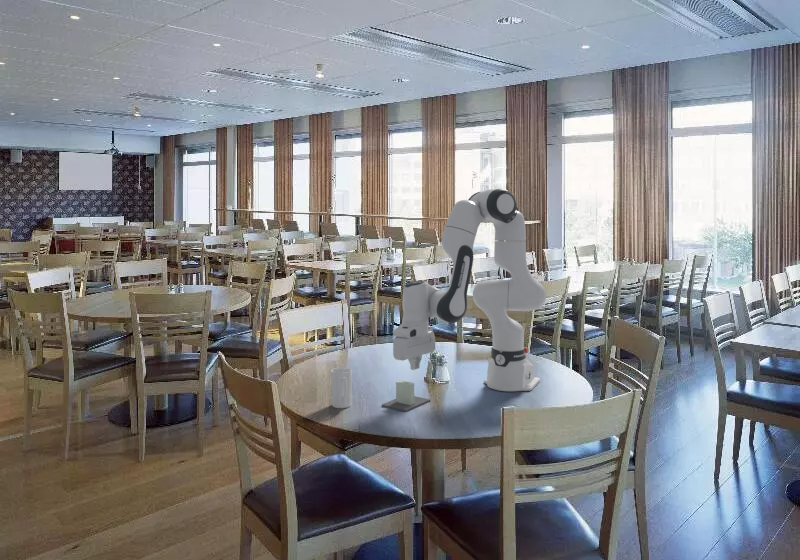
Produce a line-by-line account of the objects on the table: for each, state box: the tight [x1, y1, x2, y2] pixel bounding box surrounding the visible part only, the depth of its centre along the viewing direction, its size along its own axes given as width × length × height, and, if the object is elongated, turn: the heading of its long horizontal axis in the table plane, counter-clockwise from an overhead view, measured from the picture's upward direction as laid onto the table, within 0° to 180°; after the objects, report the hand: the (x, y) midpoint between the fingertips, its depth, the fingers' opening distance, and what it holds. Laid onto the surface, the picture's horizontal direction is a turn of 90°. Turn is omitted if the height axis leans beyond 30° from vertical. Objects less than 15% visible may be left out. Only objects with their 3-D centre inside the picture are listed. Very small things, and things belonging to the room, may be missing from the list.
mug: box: [330, 367, 353, 409], centre depth 227 cm, size 10×7×12 cm, turn 17°
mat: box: [381, 395, 431, 413], centre depth 231 cm, size 14×10×1 cm
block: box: [395, 380, 415, 405], centre depth 230 cm, size 2×6×7 cm, turn 54°
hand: (415, 369), depth 234 cm, fingers closed
